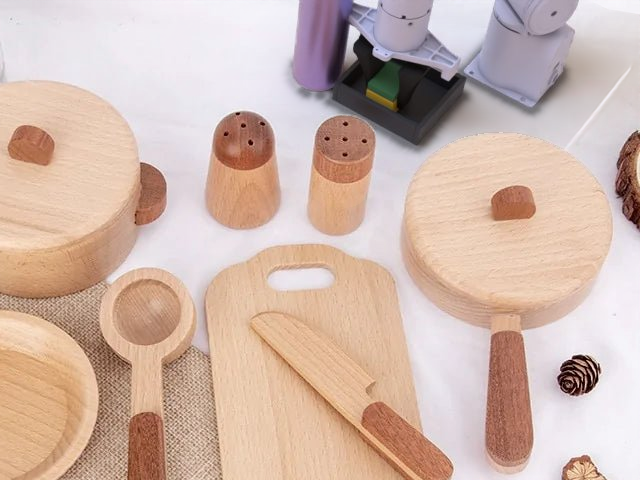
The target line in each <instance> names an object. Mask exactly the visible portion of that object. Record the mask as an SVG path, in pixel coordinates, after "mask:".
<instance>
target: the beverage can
mask: <svg viewBox="0 0 640 480" xmlns="http://www.w3.org/2000/svg"><path fill="white" fill-rule="evenodd" d="M353 3H355V0H298V8H297V9H298V10H297V19H296V30H295V39H294V49H293V57H292V69H291V72H292V76H293V78H294V80H295V82H296V83H297V84H298V85H299V86H300V87H302V88H304V89H305V90H309V91H312V92H324V91H325V92H326V91H328V90H332V89H333V88H334V83H335V82H336V81H337V80H338V79H339V78H340V77H341V76H342V75H343V74H344V67H345V61H346V56H347V55H346V54H347V49H348V48H347V47H348V42H349V41H348V40H349V36H350V35H349V34H350V28H351V25H350V22H349V21H348V19H349V15H351V14H352V9H353Z"/></svg>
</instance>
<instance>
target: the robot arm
mask: <svg viewBox="0 0 640 480" xmlns="http://www.w3.org/2000/svg"><path fill="white" fill-rule="evenodd" d="M579 1H580V0H494V3H493V6H492V10H491V14H490V18H489V21H488V25H487V29H486V33H485V36H484V40H483V42H482V47H481V50H480V52H478V53H477V55H476V56H475V57H474V58H473V59H472V60H471V62H470V63H469V64H468V65H467V66H466V67H464V69H463V74H464V75H466V76H468V77H470V78H471V79H474V80H476V81H478V82H479V83H481V84H483V85H485V86H487V87H489V88H491V89H493V90H495V91H497V92H499V93H500V94H503V95H505V96H506V97H508V98H510V99H512V100H514V101H516V102H518V103H520V104H521V105H524V106H525V107H528V108H533V107H534V106H536V105H537V103H538V102H539V101H540V99H541V98H542V97H543V96H544V95H545V94H546V92H547V91H548V90H549V89H550V87H552V86H553V85H554V84H555V82H556V80H558V78H559V77H560V76H561V74H562V73H563V72H564V65H565V62H566V59H567V57H568V55H569V52H570V49H571V46H572V43H573V40H574V38H575V34H576V30H575V29H574V28H573V27H572V26H570V25H569V24H567V23H568V22H569V20H570V19H571V18H572V17H573V15H574V13H575V11H576V10H577V7H578V5H579ZM434 2H435V1H434V0H378V1H377V7H373V6H372V7H371V6H367V5H362V4H359V3H357V2H354V3H353V9H352V14H351V15H349V19H348V21H349V22H350V26H352V27H354V28H355V29H356V30H357V31H358V32H359V35H358V38H357V39H356V40H355V41H354V43H353V45H352V52H353V53H354V55H355V56H356V58H357V59H358V60H359V62H360V64H361V67H362V69H363V73H364V77H365V83H366V89H367V87H368V82H369V81H370V80H371V79H372V78H373V77H374V76H375V75H376V74H377V73H378V72H379V71H380V70H381V69H382V68H383V67H384V66H385V61H389V60H390V59H391V58H396V59H401V60H405V61H407V62H406V63H405V64H404V65H403V66H402V67H401V68H400V69H399V70H398V76H399V92H398V97H397V108H399V109H400V110H401V109H403V108H404V107H405V106H406V105H407V103H408V102H409V101H410V100H411V97H412V95H413V93H414V91H415V89H416V87H417V86H418V84H419V82H420V81H421V80H422V78H423V77H424V75H425V74H426V73H427V72H428V71H429V70H430V69H431V67H432V68H434V69H436V70H437V71H439V72H441V73H442V74H441V77H442V78H443V79H445V80H447V81H449V80H450V79H451V78H452V77H453V76H454V75H455V74H456V73H458V72H459V69H460V68H459V67H460V64H461V60H462V57H460V56H458V55H457V54H455V53H454V52H452V51H451V50H450V49H449V48H447V47H446V45H445V44H444V43H442V42H441V40H439V39H438V37H436V35H434V34H433V33H432V32H431V31H430V29H429V25H430V24H429V23H430V19H431V16H432V15H431V14H432V10H433V5H434ZM471 73H472V74H471Z"/></svg>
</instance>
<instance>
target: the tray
mask: <svg viewBox="0 0 640 480" xmlns="http://www.w3.org/2000/svg"><path fill="white" fill-rule="evenodd" d="M389 61H390V62H392V63H394V64H396V65H397V66H399V67H402V66H403V65H404V64H405V63H406V62H407V61H405V60H401V59H396V58H391V59H390V60H389ZM389 61H385V65H386V64H387V63H388V62H389ZM441 74H442V73H441V72H439V71H437V70H436V69H434V68H432V67H431V69H430V70H429V71H428V72H427V73H426V74H425V75H424V77H423V78H422V80H421V81H420V82H419V84H418V86H417V87H416V89H415V91H414V93H413V95H412V97H411V100H410V101H409V102H408V103H407V105H406V106H405V107H404V108H403V109H401V110H400V109H399V110H398V111H397V112H394V111H393V110H391V109H389V108H387V107H385V106H383V105H382V104H380V103H378V102H376V101H374V100H372V99H370V98H369V97H367V96H366V93H367V89H366V83H365V77H364V73H363V69H362V67H361V64H360V62H359V60H358V58H357V59H356V60H355V61H354V62H353V63H352V64H351V65H350V66H349V67H348V68H347V70H345V71H344V72H343V74H342V76H341V77H340V78H339V79H338V80H337V81H336V82H335V83H334V87H333V88H332V96H331V100H332V101H334V102H336V103H338V104H340V105H342V106H343V107H345V108H347V109H348V110H351V111H353V112H354V113H356V114H358V115H359V116H362V117H363V118H365V119H366V120H369V121H371V122H372V123H374V124H376V125H377V126H380V127H381V128H383V129H386V130H387V131H389V132H391V133H393V134H394V135H396V136H397V137H400V138H402V139H403V140H405V141H406V142H409V143H411V144H413V145H415V146H418V144H419V143H420V142H421V141H422V140H423V139H424V138H425V136H427V134H428V133H429V132H430V131H431V130H432V129H433V128H434V126H435V125H436V124H437V123H439V121H440V120H441V119H442V117H443V116H445V114H446V113H447V112H448V111H449V110H450V108H451V107H452V106H453V105H454V104H455V103H456V102H457V100H459V98H460V97H461V96H462V95H463V93H464V91H465V86H466V82H467V79H468V77H467V76H465V75H463V74H461V73H459V72H457V73H456V74H455V75H454V76H453V77H452V78H451V79H450V80H449V81H447V80H445V79H443V78H442V77H441Z"/></svg>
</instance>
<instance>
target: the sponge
mask: <svg viewBox="0 0 640 480" xmlns="http://www.w3.org/2000/svg"><path fill="white" fill-rule="evenodd" d="M400 68H401V67H399V66H397V65H396V64H394V63H392V62H390V61H389V62H388V63H387V64H386V65H385V66H384V67H383V68H382V69H381V70H380V71H379V72H378V73H377V74H376V75H375V76H374V77H373V78H372V79H371V80H370V81H369V82H368V87H367V93H366V96H367V97H369V98H370V99H372V100H374V101H376V102H378V103H380V104H382V105H383V106H385V107H387V108H389V109H391V110H393V111H394V112H397V111H398V110H399V108H397V97H398V92H399V76H398V70H399V69H400Z"/></svg>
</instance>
